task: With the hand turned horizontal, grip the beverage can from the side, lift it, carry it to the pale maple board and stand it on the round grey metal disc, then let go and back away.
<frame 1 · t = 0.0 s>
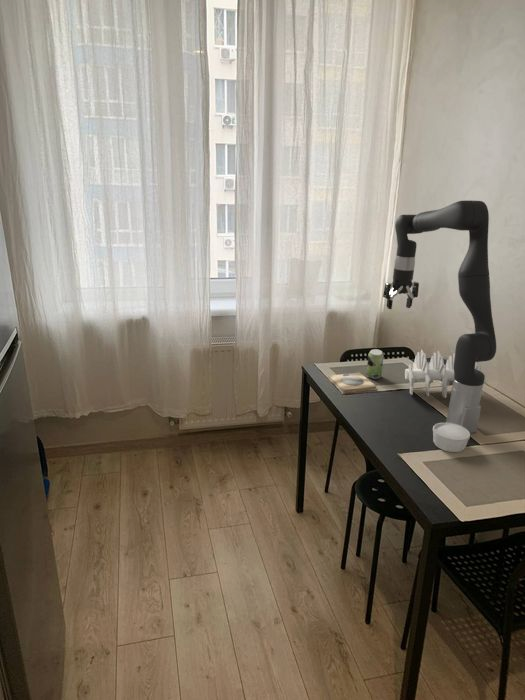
hand: (398, 308, 203), 29 cm above the table, tool pointing down, fingers open, 8 cm apart
ramekin: (448, 445, 162), on the table
beverage can: (373, 378, 211), on the table
hub seat: (351, 384, 203), on the table
white adirondack chairs: (435, 395, 196), on the table
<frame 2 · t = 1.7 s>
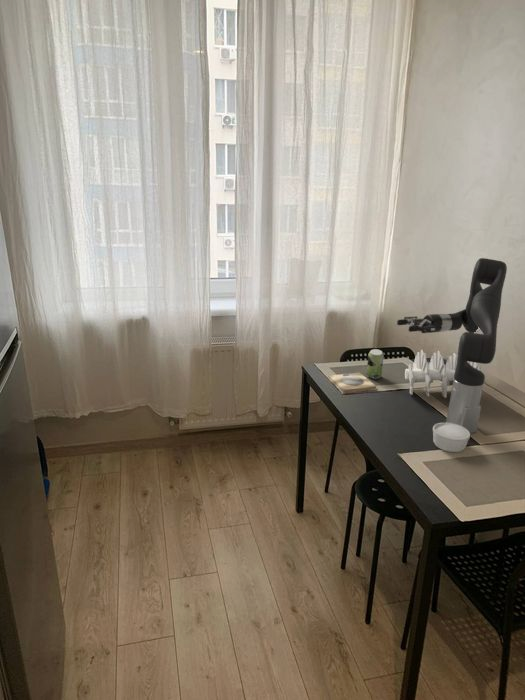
hand: (403, 325, 206), 22 cm above the table, tool horizontal, fingers open, 8 cm apart
nothing on the table moved.
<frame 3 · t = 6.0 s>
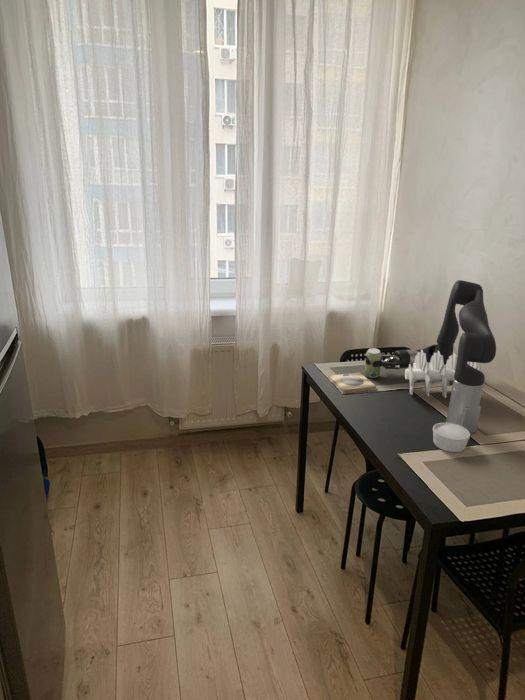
hand: (369, 362, 207), 7 cm above the table, tool horizontal, fingers open, 4 cm apart
beverage can: (371, 377, 211), on the table, touching gripper
everything else where it was.
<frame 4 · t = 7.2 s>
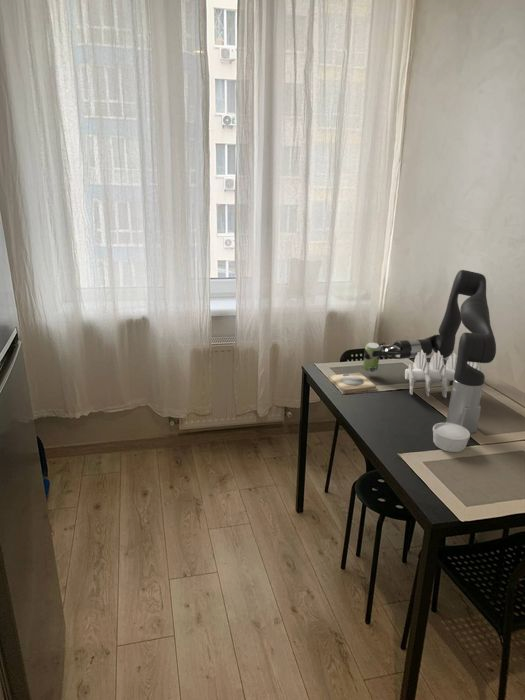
hand: (370, 352, 205), 11 cm above the table, tool horizontal, fingers closed on beverage can, 3 cm apart
beverage can: (369, 371, 211), point 2 cm above the table, touching gripper
everything else where it was.
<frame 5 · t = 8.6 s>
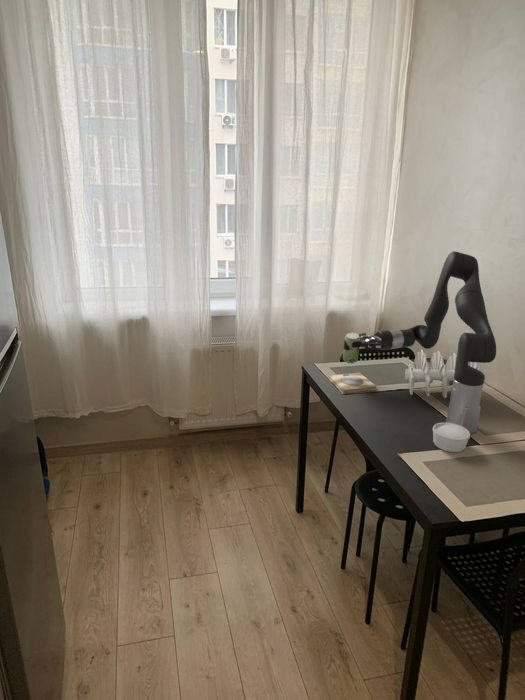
hand: (349, 343, 197), 18 cm above the table, tool horizontal, fingers closed on beverage can, 3 cm apart
beverage can: (349, 362, 202), point 8 cm above the table, touching gripper
everything else where it was.
when the fingers open (11 cm above the table, at t = 10.2 s): beverage can stays where it is, resting on hub seat.
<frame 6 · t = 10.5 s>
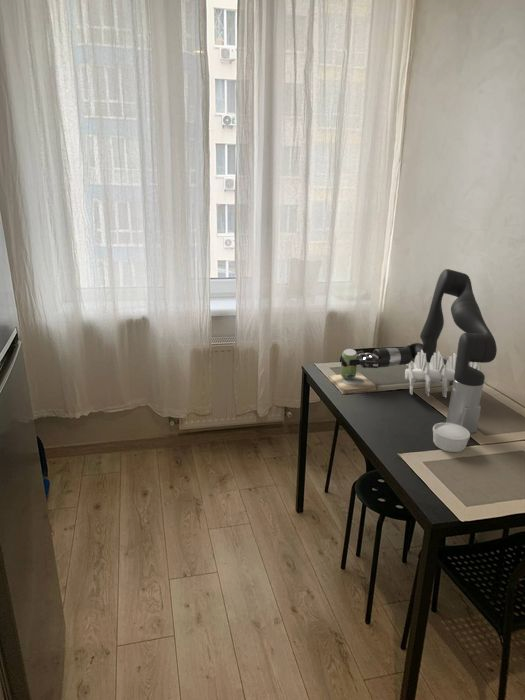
hand: (347, 361, 199), 10 cm above the table, tool horizontal, fingers open, 3 cm apart
beverage can: (347, 377, 205), point 2 cm above the table, touching gripper, hub seat
everything else where it was.
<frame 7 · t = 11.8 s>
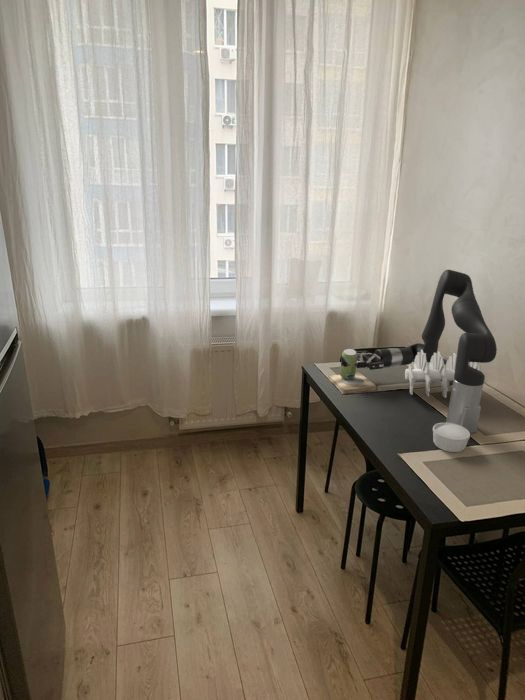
hand: (351, 361, 200), 10 cm above the table, tool horizontal, fingers open, 8 cm apart
beverage can: (347, 378, 205), point 2 cm above the table, touching hub seat
everything else where it was.
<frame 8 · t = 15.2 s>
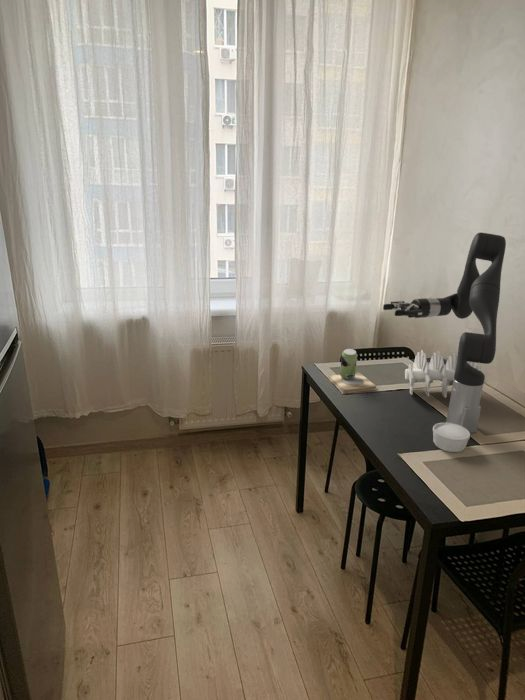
hand: (389, 310, 197), 30 cm above the table, tool horizontal, fingers open, 8 cm apart
nothing on the table moved.
at the end: beverage can 2.6 cm from the hub seat (horizontally); beverage can point 1.6 cm above the table; beverage can tilted 0° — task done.
